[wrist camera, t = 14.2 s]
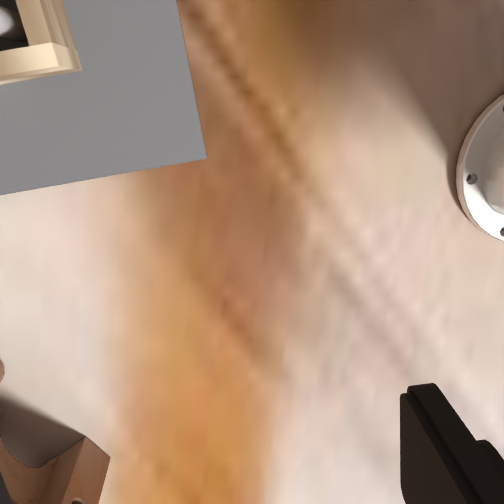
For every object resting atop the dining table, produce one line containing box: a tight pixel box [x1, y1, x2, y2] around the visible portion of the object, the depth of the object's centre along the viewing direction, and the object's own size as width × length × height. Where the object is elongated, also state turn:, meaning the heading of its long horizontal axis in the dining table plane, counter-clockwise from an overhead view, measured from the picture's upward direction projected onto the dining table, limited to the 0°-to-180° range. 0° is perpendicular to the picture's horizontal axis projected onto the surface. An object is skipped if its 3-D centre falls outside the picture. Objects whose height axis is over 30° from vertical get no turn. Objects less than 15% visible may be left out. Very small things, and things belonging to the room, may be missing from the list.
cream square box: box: [0, 0, 82, 85], centre depth 26 cm, size 6×6×5 cm
